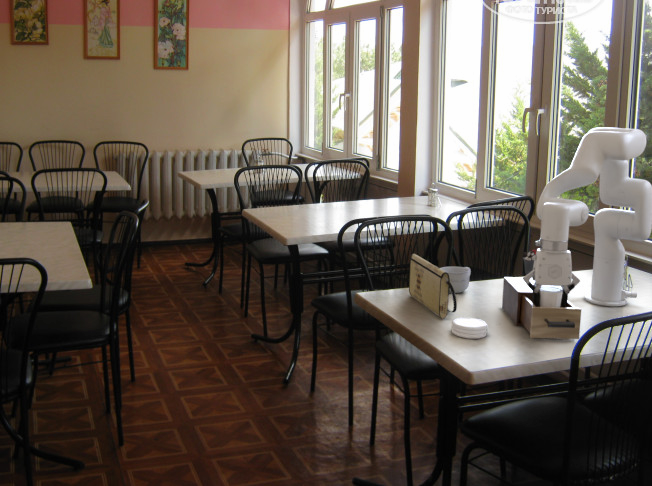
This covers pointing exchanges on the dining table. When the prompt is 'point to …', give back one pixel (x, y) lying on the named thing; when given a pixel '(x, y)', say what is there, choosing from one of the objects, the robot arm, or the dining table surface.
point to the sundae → (529, 260)
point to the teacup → (458, 277)
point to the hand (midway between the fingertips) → (549, 305)
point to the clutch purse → (430, 286)
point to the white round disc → (469, 328)
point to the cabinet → (515, 296)
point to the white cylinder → (550, 296)
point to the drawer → (550, 320)
